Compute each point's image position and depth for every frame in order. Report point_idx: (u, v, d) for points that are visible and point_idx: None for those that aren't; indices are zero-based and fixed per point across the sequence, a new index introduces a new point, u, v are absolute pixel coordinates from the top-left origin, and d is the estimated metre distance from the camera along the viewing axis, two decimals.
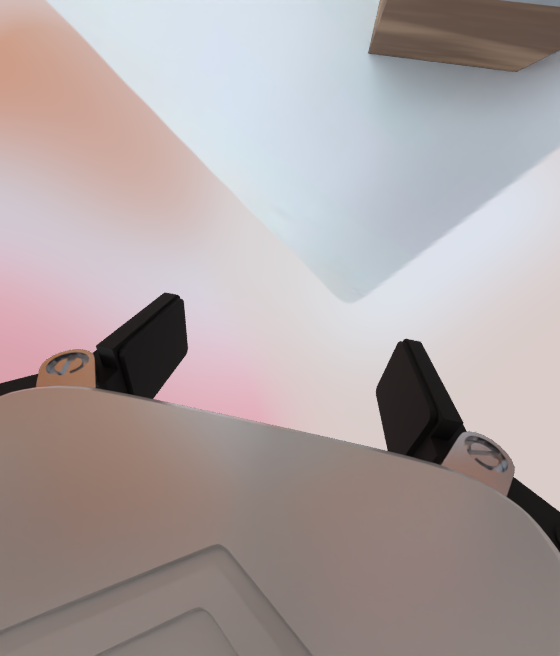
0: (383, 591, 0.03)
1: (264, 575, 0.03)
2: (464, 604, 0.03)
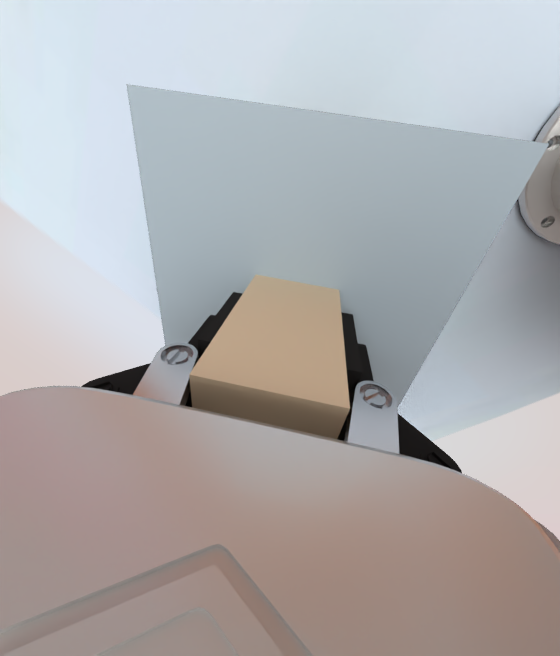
0: (383, 591, 0.03)
1: (264, 574, 0.03)
2: (464, 604, 0.03)
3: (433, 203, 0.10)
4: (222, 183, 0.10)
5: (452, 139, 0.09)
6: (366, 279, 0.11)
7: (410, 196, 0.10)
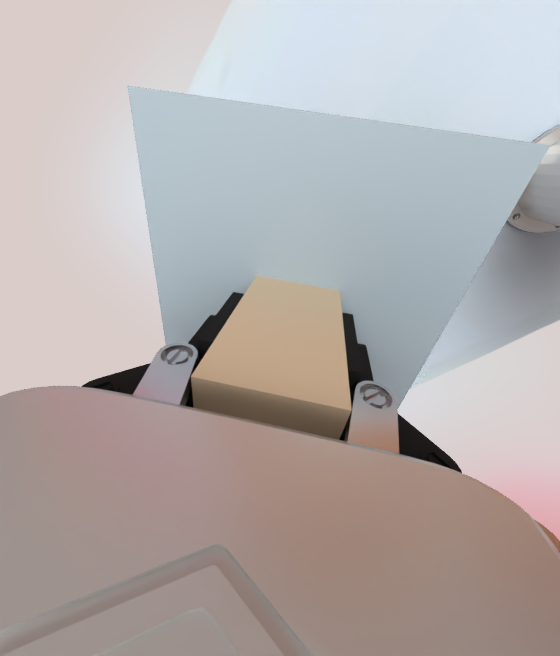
0: (383, 591, 0.03)
1: (264, 575, 0.03)
2: (464, 604, 0.03)
3: (434, 204, 0.10)
4: (223, 184, 0.10)
5: (453, 141, 0.09)
6: (367, 280, 0.11)
7: (411, 197, 0.10)
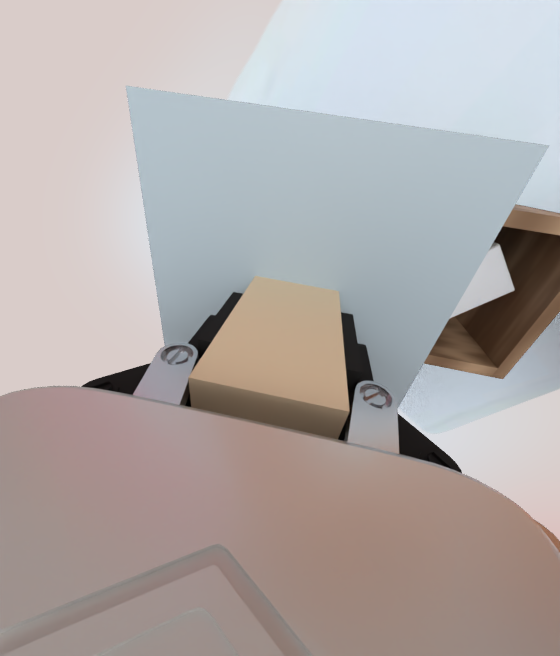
0: (383, 591, 0.03)
1: (264, 574, 0.03)
2: (464, 604, 0.03)
3: (433, 205, 0.10)
4: (221, 184, 0.10)
5: (452, 140, 0.09)
6: (366, 280, 0.11)
7: (410, 198, 0.10)
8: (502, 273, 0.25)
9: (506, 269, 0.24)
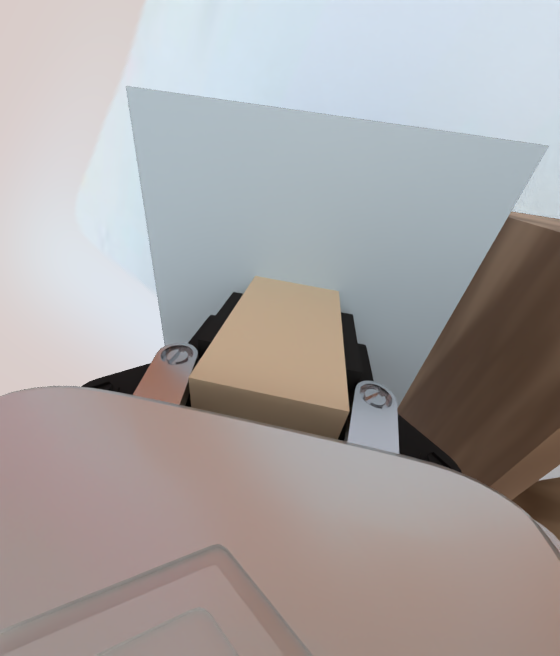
0: (383, 591, 0.03)
1: (264, 574, 0.03)
2: (464, 604, 0.03)
3: (433, 205, 0.10)
4: (221, 184, 0.10)
5: (452, 141, 0.09)
6: (366, 280, 0.11)
7: (410, 198, 0.10)
8: None
9: None
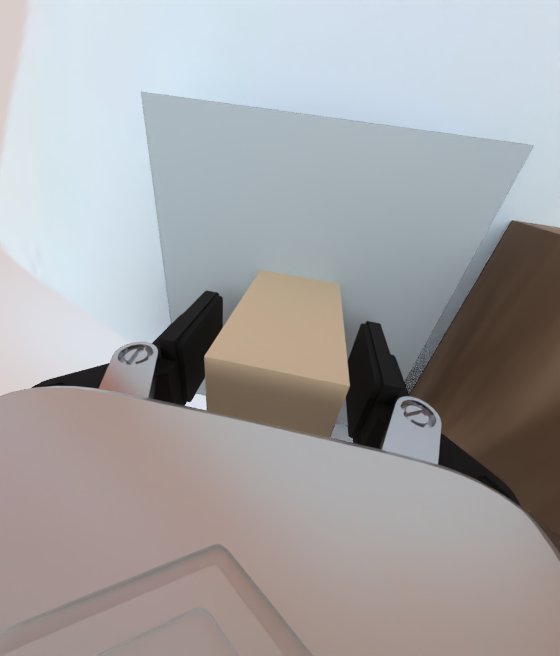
0: (383, 591, 0.03)
1: (264, 574, 0.03)
2: (464, 604, 0.03)
3: (427, 201, 0.10)
4: (229, 183, 0.11)
5: (444, 141, 0.09)
6: (365, 273, 0.12)
7: (406, 194, 0.10)
8: None
9: None
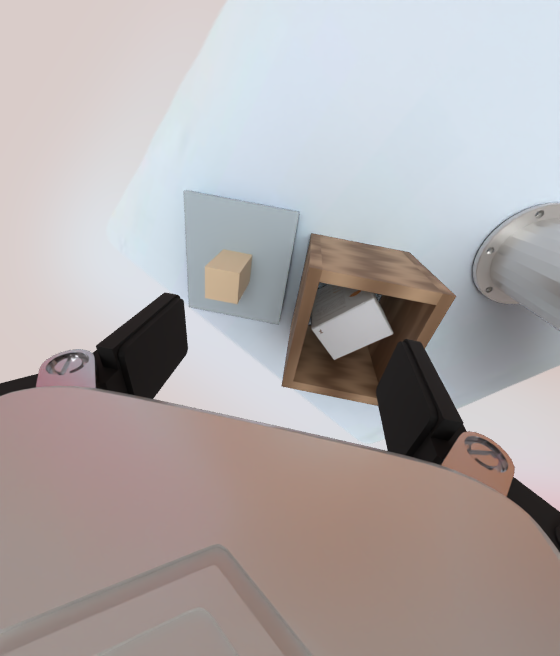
0: (383, 591, 0.03)
1: (264, 575, 0.03)
2: (464, 604, 0.03)
3: (274, 227, 0.32)
4: (211, 218, 0.33)
5: (275, 210, 0.31)
6: (260, 251, 0.34)
7: (268, 224, 0.32)
8: (380, 320, 0.29)
9: (383, 317, 0.28)
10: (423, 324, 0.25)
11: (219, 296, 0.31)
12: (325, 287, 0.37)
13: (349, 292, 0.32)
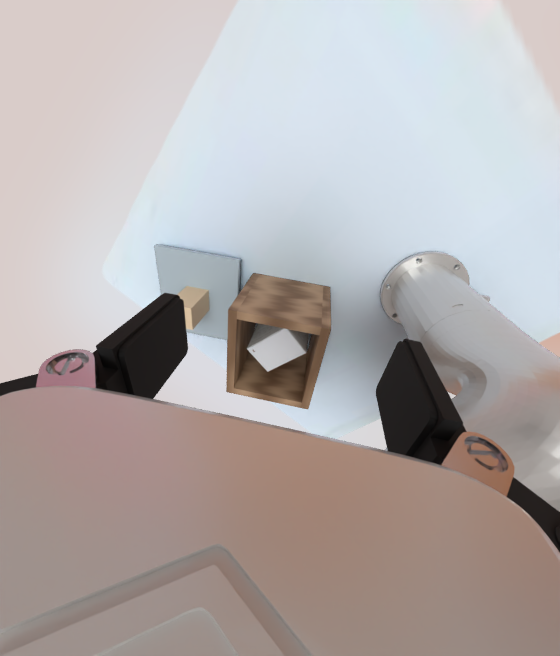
0: (383, 591, 0.03)
1: (264, 575, 0.03)
2: (464, 604, 0.03)
3: (222, 270, 0.43)
4: (176, 264, 0.43)
5: (221, 259, 0.42)
6: (214, 287, 0.45)
7: (217, 269, 0.43)
8: (294, 343, 0.38)
9: (295, 341, 0.38)
10: (316, 348, 0.35)
11: None
12: None
13: None
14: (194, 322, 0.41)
